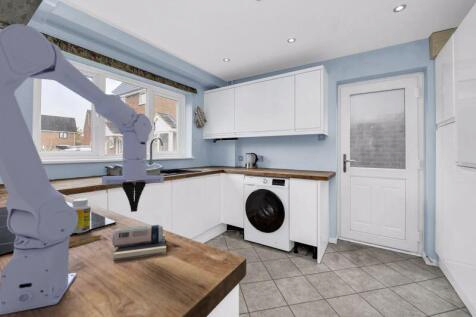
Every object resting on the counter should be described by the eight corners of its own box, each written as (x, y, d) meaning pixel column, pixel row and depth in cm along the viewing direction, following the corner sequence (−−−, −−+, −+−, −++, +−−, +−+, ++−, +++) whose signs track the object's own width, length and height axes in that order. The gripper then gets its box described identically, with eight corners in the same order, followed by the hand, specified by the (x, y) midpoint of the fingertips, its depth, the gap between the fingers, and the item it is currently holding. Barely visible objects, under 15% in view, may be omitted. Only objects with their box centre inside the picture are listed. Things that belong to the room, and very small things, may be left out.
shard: (101, 240, 63) (102, 234, 63) (87, 250, 56) (87, 244, 56) (61, 241, 62) (61, 235, 62) (41, 253, 54) (41, 246, 54)
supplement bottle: (85, 233, 67) (85, 201, 67) (65, 234, 66) (65, 201, 66) (93, 228, 73) (93, 197, 73) (74, 229, 71) (74, 198, 72)
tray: (166, 253, 54) (166, 247, 54) (113, 260, 50) (113, 254, 50) (164, 239, 63) (164, 234, 63) (119, 244, 59) (119, 239, 59)
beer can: (112, 252, 54) (162, 245, 58) (111, 235, 53) (162, 230, 57) (115, 241, 59) (162, 236, 63) (115, 225, 58) (162, 221, 62)
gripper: (163, 159, 63) (162, 205, 63) (106, 159, 58) (105, 209, 58) (164, 159, 56) (163, 211, 56) (100, 159, 51) (99, 216, 51)
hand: (134, 210), depth 57 cm, fingers closed
